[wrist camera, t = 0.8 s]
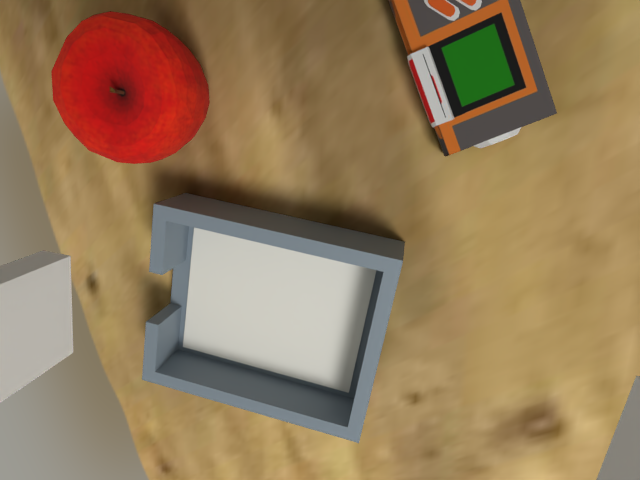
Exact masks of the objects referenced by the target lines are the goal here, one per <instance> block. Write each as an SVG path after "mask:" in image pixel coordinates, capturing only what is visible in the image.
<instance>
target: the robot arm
mask: <svg viewBox="0 0 640 480" xmlns="http://www.w3.org/2000/svg"><path fill="white" fill-rule="evenodd" d="M71 294H72V293H71V260H70V256H68V255H63V254H59V253H54V252H49V251H45V250H43V251H40V252H38V253H35V254H32V255H29V256H27V257H24V258H21V259H18V260H15V261H13V262H10V263H7V264H4V265H2V266H0V403H1V402H2V401H4V400H5V399H7V398H8V397H9V396H11V395H12V394H14V393H15V392H17V391H18V390H19V389H21V388H22V387H24V386H25V385H27V384H28V383H30V382H31V381H32V380H34V379H36V378H37V377H38V376H40V375H41V374H43V373H44V372H46V371H47V370H49V369H50V368H51V367H53V366H54V365H56V364H57V363H59V362H60V361H61V360H63V359H65V358H66V357H67V356H69V355H70V354H72V353H73V328H72V295H71ZM597 480H640V376H636V378H635V381H634V384H633V386H632V389H631V391H630V394H629V397H628V399H627V402H626V404H625V407H624V410H623V412H622V415H621V417H620V420H619V423H618V425H617V428H616V430H615V433H614V436H613V438H612V441H611V443H610V446H609V449H608V451H607V454H606V456H605V459H604V461H603V464H602V467H601V469H600V472H599V474H598V477H597Z"/></svg>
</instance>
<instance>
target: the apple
mask: <svg viewBox="0 0 640 480" xmlns="http://www.w3.org/2000/svg"><path fill="white" fill-rule="evenodd" d="M52 87H53V100H54V103H55V105H56V107H57V109H58V111H59V113H60V115H61V117H62V119H63V121H64V123H65V125H66V126H67V127H68V128H69V130H70V131H71V132H72V133H73V135H74V136H75V137H76V138H77V139H78V140H79V141H80V142H81V143H82V144H83V145H84V146H85V147H86V148H87V149H88V150H89V151H92V152H94V153H97V154H99V155H101V156H104V157H106V158H109V159H111V160H114V161H116V162H122V163H132V164H136V163H151V162H154V161H158V160H161V159H163V158H166V157H168V156H170V155H172V154H174V153H176V152H177V151H178V150H179V149H181V148H182V147H183V146H184V145H185V144H187V143H188V142H189V141H190V140H191V139H192V138H193V137H194V136H195V135H196V133H197V131H198V130H199V128H200V126H201V125H202V123H203V121H204V120H205V118H206V114H207V110H208V106H209V89H208V84H207V81H206V78H205V76H204V73H203V71H202V68H201V65H200V64H199V62H198V61H197V60H196V58H195V57H194V55H193V54H192V53H191V51H190V50H189V49H188V48H187V47H186V46H185V45H184V44H183V43H182V42H181V41H180V40H179V39H178V38H177V37H176V36H174V35H173V34H172V33H171V32H169V31H168V30H167V29H165V28H164V27H162V26H160V25H159V24H157V23H155V22H154V21H152V20H148V19H145V18H141V17H137V16H134V15H130V14H126V13H119V12H111V11H110V12H105V13H101V14H96V15H93V16H91V17H89V18H87V19H85V20H83V21H81V23H80V24H79V25H78V26H77V27H76V28H75V29H74V30H73V31H72V32H71V33H70V34H69V35H68V37H67V38H66V40H65V42H64V45H63V47H62V49H61V51H60V54H59V56H58V58H57V60H56V63H55V65H54V67H53V69H52Z"/></svg>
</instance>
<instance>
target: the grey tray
mask: <svg viewBox="0 0 640 480" xmlns="http://www.w3.org/2000/svg"><path fill="white" fill-rule="evenodd" d="M404 244H405V242H403V241H399V240H394V239H390V238H385V237H381V236H376V235H372V234H368V233H363V232H359V231H354V230H350V229H345V228H341V227H336V226H332V225H327V224H323V223H318V222H314V221H309V220H305V219H300V218H296V217H291V216H287V215H282V214H278V213H273V212H269V211H264V210H260V209H255V208H251V207H247V206H242V205H238V204H233V203H229V202H224V201H220V200H215V199H211V198H206V197H202V196H197V195H193V194H188V193H184V194H181V195H178V196H175V197H172V198H169V199H166V200H163V201H160V202H157V203H154V207H153V222H152V238H151V253H150V268H149V272H153V273H156V274H160V275H163V274H165V273H166V272H168V271H169V270H171V269H173V279H172V291H171V303H170V304H169V305H167V306H166V307H165V308H163V309H162V310H161V311H160V312H158V313H157V314H156V315H154V316H153V317H152V318H150V319H149V320H148V321H146V330H145V345H144V361H143V376H142V380H145V381H149V382H152V383H156V384H159V385H162V386H166V387H169V388H173V389H176V390H179V391H183V392H186V393H190V394H193V395H197V396H200V397H203V398H207V399H210V400H214V401H217V402H221V403H224V404H227V405H231V406H234V407H238V408H241V409H244V410H248V411H251V412H255V413H258V414H262V415H265V416H268V417H272V418H275V419H279V420H282V421H285V422H289V423H292V424H296V425H299V426H303V427H306V428H309V429H313V430H316V431H320V432H323V433H326V434H330V435H333V436H337V437H340V438H344V439H347V440H350V441H354V442H357V443H359V440H360V436H361V432H362V428H363V423H364V419H365V415H366V411H367V407H368V403H369V399H370V395H371V390H372V386H373V382H374V378H375V374H376V370H377V366H378V362H379V357H380V353H381V349H382V345H383V341H384V337H385V333H386V329H387V324H388V320H389V316H390V312H391V308H392V304H393V300H394V296H395V291H396V287H397V283H398V279H399V275H400V271H401V267H402V263H403V255H404Z"/></svg>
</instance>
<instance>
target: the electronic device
mask: <svg viewBox="0 0 640 480" xmlns="http://www.w3.org/2000/svg"><path fill="white" fill-rule="evenodd" d="M388 1H389V4H390V7H391V10H392V13H393V15H394V18H395V21H396V24H397V26H398V29H399V32H400V35H401V37H402V40H403V43H404V46H405V49H406V51H407V54H408V56H407V59H408V65H409V68H410V70H411V73H412V76H413V79H414V81H415V84H416V87H417V90H418V92H419V95H420V98H421V101H422V103H423V106H424V109H425V112H426V114H427V117H428V120H429V123H430V125H431V126H432V128H433V127H434V129H435V132H436V134H437V137H438V140H439V143H440V145H441V148H442V151H443V154H444V156H448V155H451V154H453V153H456V152H459V151H461V150H464V149H466V148H469V147H471V146H475V147H478V148H483V147H486V146H489V145H492V144H495V143H497V142H500V141H503V140H505V139H508V138H510V137H512V136H514V135H517V134H518V132H519V130H520V129H521V127H523V126H525V125H528V124H531V123H533V122H536V121H538V120H541V119H543V118H546V117H549V116H551V115H554V114H556V113H557V112H556V109H555V106H554V103H553V100H552V97H551V94H550V91H549V87H548V84H547V81H546V78H545V75H544V72H543V69H542V66H541V63H540V60H539V57H538V54H537V51H536V48H535V45H534V41H533V38H532V35H531V32H530V29H529V26H528V23H527V20H526V17H525V14H524V11H523V8H522V5H521V2H520V0H388Z"/></svg>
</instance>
